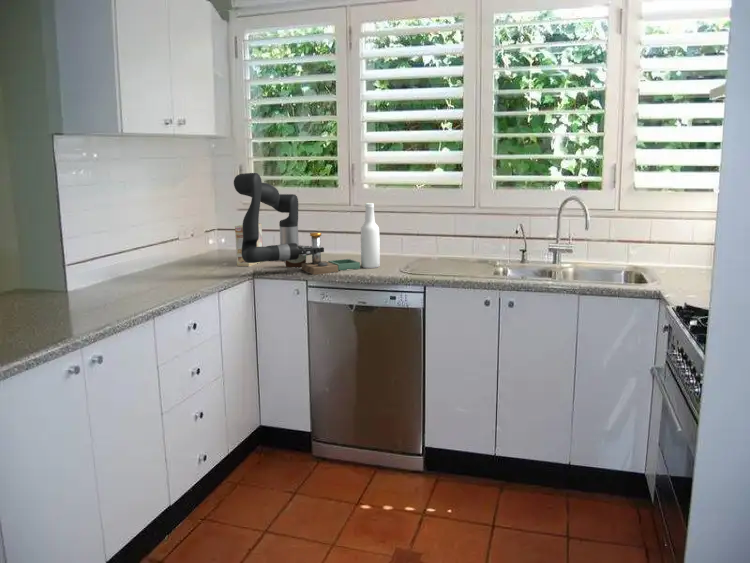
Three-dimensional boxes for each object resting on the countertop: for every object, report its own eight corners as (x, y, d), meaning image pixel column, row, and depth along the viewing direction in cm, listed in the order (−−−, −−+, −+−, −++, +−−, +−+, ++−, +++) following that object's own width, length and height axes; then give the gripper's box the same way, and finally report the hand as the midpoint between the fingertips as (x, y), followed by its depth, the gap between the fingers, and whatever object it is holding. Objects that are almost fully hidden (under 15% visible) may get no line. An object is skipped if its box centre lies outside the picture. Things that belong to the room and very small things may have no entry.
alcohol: (361, 268, 314) (360, 204, 308) (361, 265, 323) (360, 202, 317) (380, 268, 314) (379, 203, 308) (379, 265, 323) (378, 202, 317)
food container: (310, 265, 324) (310, 245, 322) (308, 267, 318) (307, 247, 316) (285, 265, 325) (284, 245, 324) (282, 267, 319) (281, 247, 318)
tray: (328, 267, 319) (328, 260, 319) (349, 265, 324) (349, 258, 324) (338, 270, 309) (338, 264, 308) (360, 268, 314) (359, 262, 313)
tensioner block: (301, 269, 313) (301, 260, 313) (325, 267, 319) (325, 258, 318) (313, 274, 300) (313, 265, 300) (338, 272, 306) (337, 263, 305)
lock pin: (309, 269, 314) (308, 232, 310) (319, 268, 316) (318, 232, 313) (313, 271, 309) (312, 234, 306) (324, 270, 311) (323, 233, 308)
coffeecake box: (249, 266, 324) (247, 226, 320) (236, 266, 326) (234, 226, 322) (264, 261, 338) (262, 223, 334) (251, 261, 340) (249, 222, 336)
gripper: (291, 245, 298) (327, 242, 305) (281, 242, 310) (315, 239, 318) (292, 262, 299) (328, 259, 307) (281, 258, 311) (316, 255, 319)
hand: (321, 249), depth 312 cm, fingers closed on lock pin, 4 cm apart
